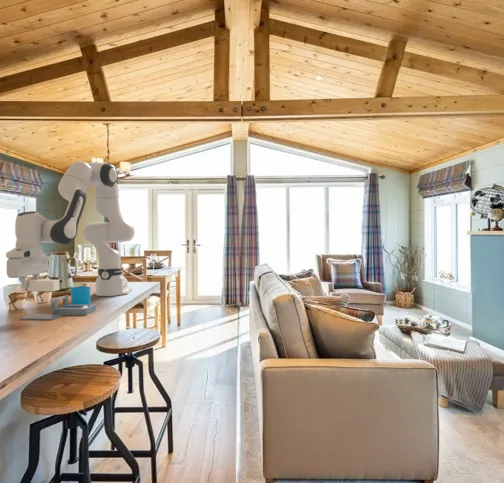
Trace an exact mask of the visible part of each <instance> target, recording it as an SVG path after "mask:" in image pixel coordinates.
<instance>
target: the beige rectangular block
mask: <svg viewBox="0 0 504 483" xmlns="http://www.w3.org/2000/svg"><path fill="white" fill-rule="evenodd" d="M26 281H27V283H28V287H27V288H22V283H21V282H20V286H21V292H56V291H60V279H38V280H34V279H33V278H32V279H26Z"/></svg>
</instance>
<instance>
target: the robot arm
mask: <svg viewBox="0 0 504 483" xmlns="http://www.w3.org/2000/svg"><path fill="white" fill-rule="evenodd" d="M118 178H119V174H118V170H117V168H116V166H115V165H113V164H111V163H106V162H105V163H103V162H96V161H93V162H91V161H90V162H85V161H81V160H77V161H74V162H73V163H72V164H71V165H70V166H69V167H68V168H67V170H66V171H65V173H64V174H63V175H62V177H61V179H60V181H59V183H58V185H57V186H58V187H57V190H58V193H59V194H60V196H61V197H62V198H63V199H64V200H66V201H68V204H67V207H66V210H65V213H64V215H63V216H62V217H61V218H60V219H49V218H46V217H44V216H43V215H42V214H40V213H39V211H33V210H32V211H23V212H20V213H18V214H17V215H16V218H15V224H14V230H15V231H14V232H15V235H14V236H16V241H15V247H14V248H12V249H11V250H9V251H7V252H6V253H5V256H6V257H5V258H7V260H6V276H7V277H8V279H18V280H19V282H20V284H21V283H22V288H27V287H28V283H27V281H26V280H28V278H27V277H28V276H32V279H34V280H40V274H45V273H48V272H49V270H50V268H49V259H48V256H47V253H46V252H45V251H44V250H43V249H42V248H43V246H42V245H43V244H42V243H44V244H59V245H69V244H71V243H72V242H74V240H75V239H76V237H77V234H78V226H79V223H80V220H81V218H82V214H83V212H84V209H85V205H86V202H87V195H86V193H87V190H88V187H89V186H94V187H95V188H94V189H95V190H94V191H95V193H94V194H95V195H94V196H95V205H96V211H97V213H98V214H99V215H101V216H103V217H106V219H108V221H96V222H95V221H94V222H90V223H89V222H88V223H86V224H85V225H84V227H83V230H82V235H83V238H84V239H85V241H87V242H88V243H90V244H91V245H92V247H94V248H95V251H96V252H97V259H98V260H97V261H98V269H97V275H98V277H96V279H95V291H93V295H96V296H98V297H115V296H122V295H128V294H129V293H131V291H132V290H133V287H129V282H128V281H129V280H128V279H127V278H126V277H125V276H124V274H123V271H125V269H124V268H125V267H122V263H121V262H122V260H121V258H122V256H121V253H120V251H118V250H117V249H114V248H112V247H111V246H110V244H109V243H126V242H129V241H132V239H133V238H134V237H135V228H134V226H133V225H132V224H131V223H130V222H128V221H127V220H126V219H125V218H124V216H123V215H122V213H121V211H120V202H119V190H118V184H117V181H118Z"/></svg>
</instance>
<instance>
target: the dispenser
mask: <svg viewBox="0 0 504 483" xmlns="http://www.w3.org/2000/svg"><path fill="white" fill-rule="evenodd" d="M69 297H70V296H69V294H65V295H62V296H58V297H56V298H52V299H50V304H51V314H62V316H67V315H69V316H76V315H77V316H88V315H90V314H92V313H93V312H96V311H97V304H91V305H71V304H69ZM58 301H62V305H61V307H58Z"/></svg>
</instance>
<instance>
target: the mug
mask: <svg viewBox="0 0 504 483" xmlns="http://www.w3.org/2000/svg"><path fill="white" fill-rule="evenodd" d="M91 299H92V298H91V287H90V286H88V285H87V286H86V285H84V286H75V287H71V288H70V305H90V304H91V302H92V301H91ZM91 305H92V304H91Z"/></svg>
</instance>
